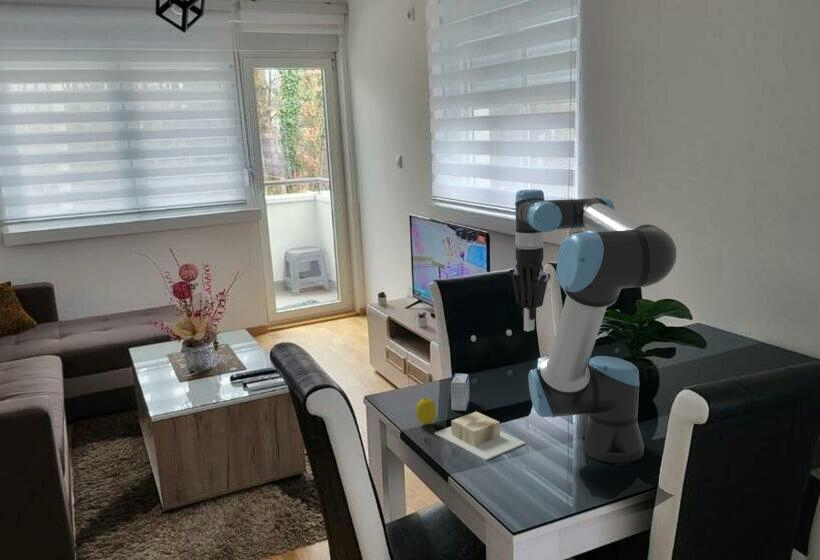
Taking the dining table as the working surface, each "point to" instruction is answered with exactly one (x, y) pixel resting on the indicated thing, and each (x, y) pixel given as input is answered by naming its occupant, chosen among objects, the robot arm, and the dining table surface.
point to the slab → (475, 428)
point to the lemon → (426, 411)
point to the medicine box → (460, 392)
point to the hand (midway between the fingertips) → (529, 329)
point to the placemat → (484, 444)
